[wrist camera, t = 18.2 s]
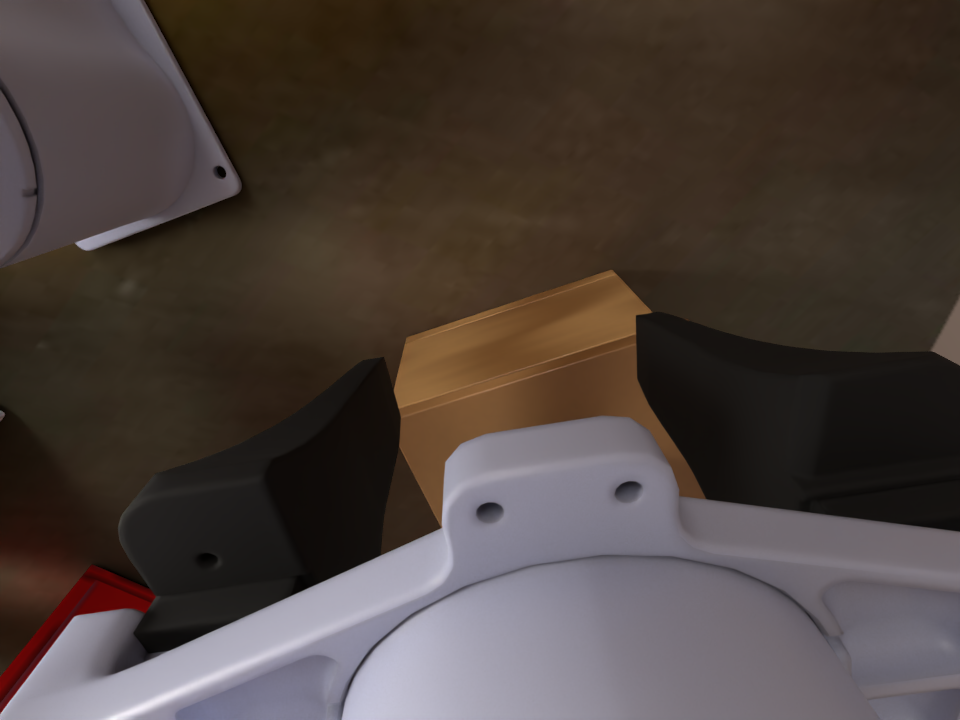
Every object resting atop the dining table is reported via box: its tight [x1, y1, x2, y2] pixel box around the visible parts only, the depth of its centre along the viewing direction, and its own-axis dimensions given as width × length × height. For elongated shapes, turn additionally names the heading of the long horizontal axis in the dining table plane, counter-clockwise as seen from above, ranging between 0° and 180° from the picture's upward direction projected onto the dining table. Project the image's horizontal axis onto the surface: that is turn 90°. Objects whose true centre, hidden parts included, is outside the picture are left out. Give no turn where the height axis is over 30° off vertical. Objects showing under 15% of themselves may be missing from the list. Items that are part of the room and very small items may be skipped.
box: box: [394, 270, 653, 409], centre depth 24 cm, size 11×12×7 cm
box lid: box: [399, 319, 706, 528], centre depth 20 cm, size 11×12×1 cm
